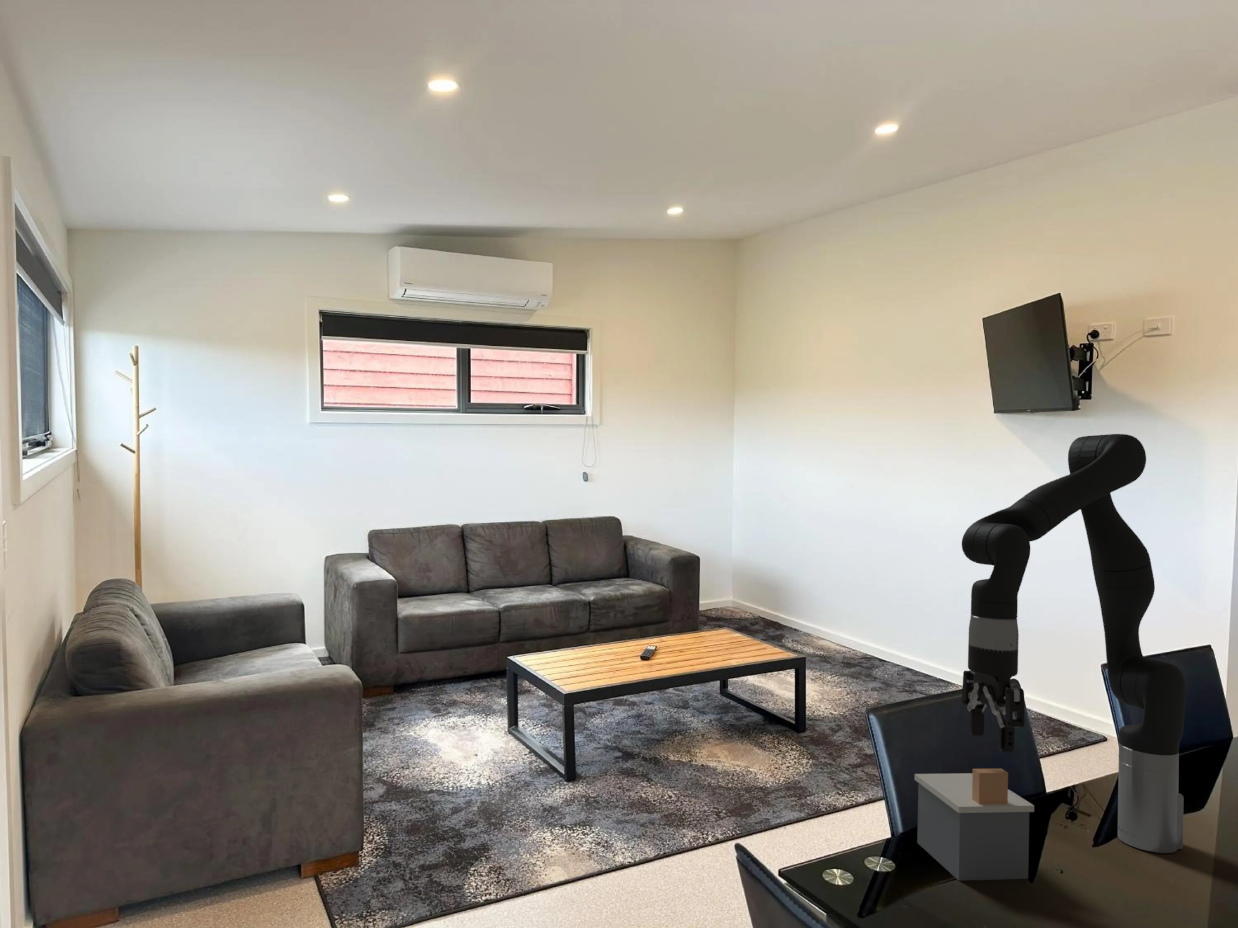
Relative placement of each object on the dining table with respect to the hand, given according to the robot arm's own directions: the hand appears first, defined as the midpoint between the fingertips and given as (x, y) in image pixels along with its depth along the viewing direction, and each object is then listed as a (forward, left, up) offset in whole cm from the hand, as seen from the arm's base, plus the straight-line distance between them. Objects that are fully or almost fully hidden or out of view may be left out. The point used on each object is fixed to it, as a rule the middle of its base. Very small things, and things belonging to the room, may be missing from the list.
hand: (990, 742), depth 135 cm
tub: (0, -6, -22) cm, 22 cm away
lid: (0, -6, -12) cm, 13 cm away
